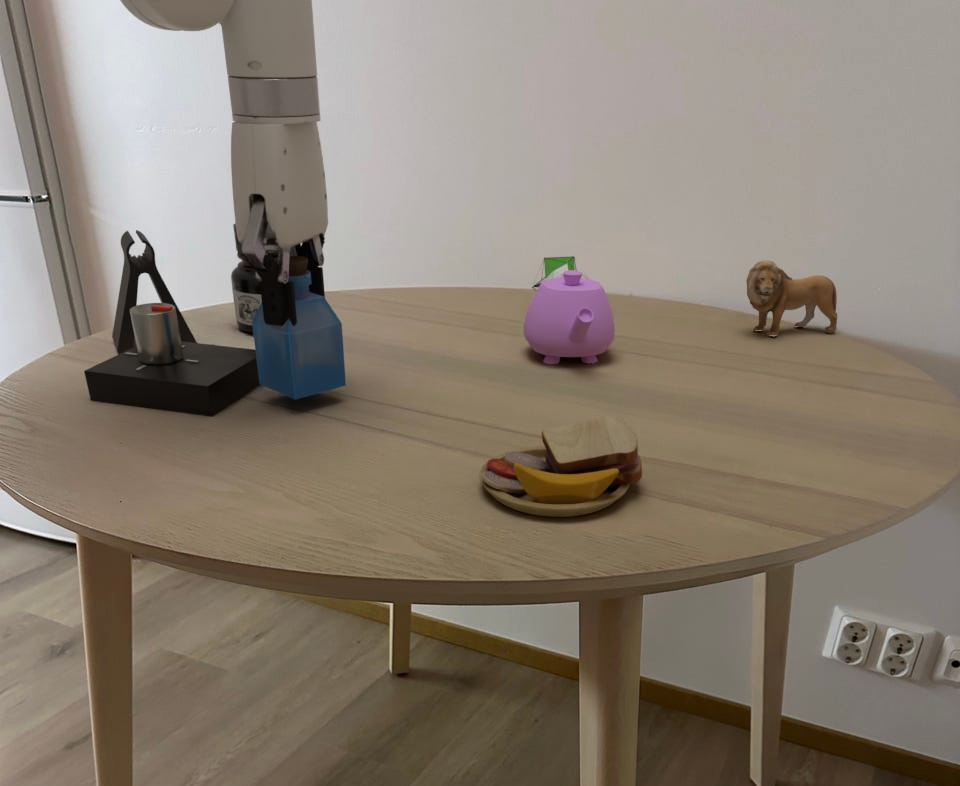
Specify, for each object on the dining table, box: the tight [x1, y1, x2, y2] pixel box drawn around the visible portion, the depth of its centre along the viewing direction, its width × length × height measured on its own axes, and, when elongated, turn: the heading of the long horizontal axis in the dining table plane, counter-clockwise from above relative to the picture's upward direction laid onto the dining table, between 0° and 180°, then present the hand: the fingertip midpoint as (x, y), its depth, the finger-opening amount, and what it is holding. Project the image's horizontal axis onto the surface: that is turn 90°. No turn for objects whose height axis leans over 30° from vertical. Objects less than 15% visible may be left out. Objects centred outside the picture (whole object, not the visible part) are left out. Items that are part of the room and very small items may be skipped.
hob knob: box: [130, 302, 183, 364], centre depth 94 cm, size 4×4×5 cm
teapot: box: [523, 269, 616, 365], centre depth 105 cm, size 10×15×9 cm
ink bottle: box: [230, 223, 292, 334], centre depth 113 cm, size 10×9×12 cm
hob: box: [83, 341, 262, 417], centre depth 96 cm, size 14×12×3 cm
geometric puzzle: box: [531, 255, 589, 292], centre depth 124 cm, size 7×7×8 cm
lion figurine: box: [746, 259, 838, 336], centre depth 115 cm, size 15×5×9 cm, turn 112°
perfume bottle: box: [252, 256, 347, 400], centre depth 90 cm, size 6×6×12 cm
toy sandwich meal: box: [478, 415, 643, 518], centre depth 76 cm, size 12×14×5 cm
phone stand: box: [111, 229, 198, 355], centre depth 107 cm, size 9×6×12 cm, turn 113°
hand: (295, 314), depth 90 cm, fingers closed on perfume bottle, 5 cm apart
